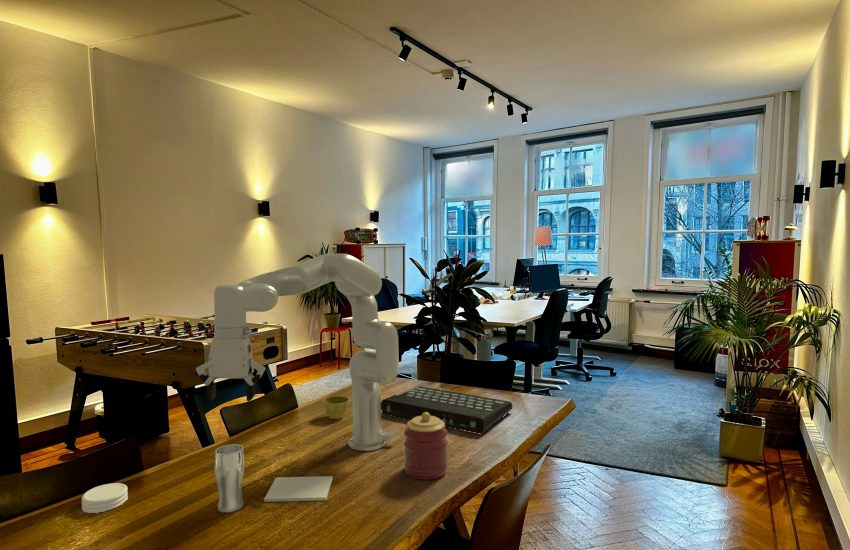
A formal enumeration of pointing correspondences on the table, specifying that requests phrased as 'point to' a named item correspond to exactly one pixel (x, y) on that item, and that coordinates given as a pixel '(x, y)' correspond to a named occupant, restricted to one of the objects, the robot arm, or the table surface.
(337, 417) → the flower pot
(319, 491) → the grey mat
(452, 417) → the computer keyboard
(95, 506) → the white round disc stack
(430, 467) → the canister
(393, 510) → the table surface
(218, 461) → the beer glass
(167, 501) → the table surface
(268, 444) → the table surface
